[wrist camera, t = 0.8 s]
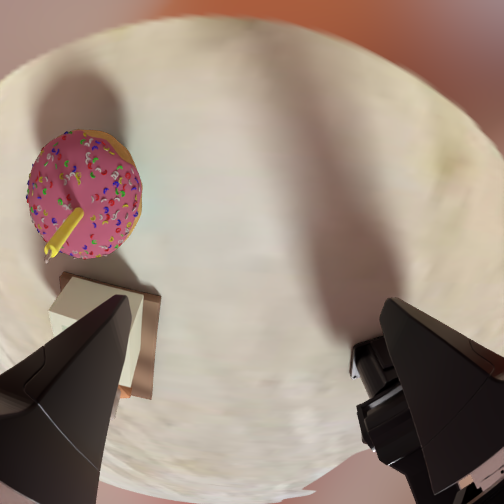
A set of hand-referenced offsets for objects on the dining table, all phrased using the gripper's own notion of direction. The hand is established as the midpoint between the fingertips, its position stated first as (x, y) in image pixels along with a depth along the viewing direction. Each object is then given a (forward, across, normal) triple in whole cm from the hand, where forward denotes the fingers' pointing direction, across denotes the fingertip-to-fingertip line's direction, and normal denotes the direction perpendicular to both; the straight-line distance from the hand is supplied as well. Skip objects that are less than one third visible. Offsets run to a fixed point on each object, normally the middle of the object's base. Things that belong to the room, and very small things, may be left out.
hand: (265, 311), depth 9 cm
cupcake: (+14, +11, -1) cm, 17 cm away
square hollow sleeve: (+12, +12, +11) cm, 21 cm away
